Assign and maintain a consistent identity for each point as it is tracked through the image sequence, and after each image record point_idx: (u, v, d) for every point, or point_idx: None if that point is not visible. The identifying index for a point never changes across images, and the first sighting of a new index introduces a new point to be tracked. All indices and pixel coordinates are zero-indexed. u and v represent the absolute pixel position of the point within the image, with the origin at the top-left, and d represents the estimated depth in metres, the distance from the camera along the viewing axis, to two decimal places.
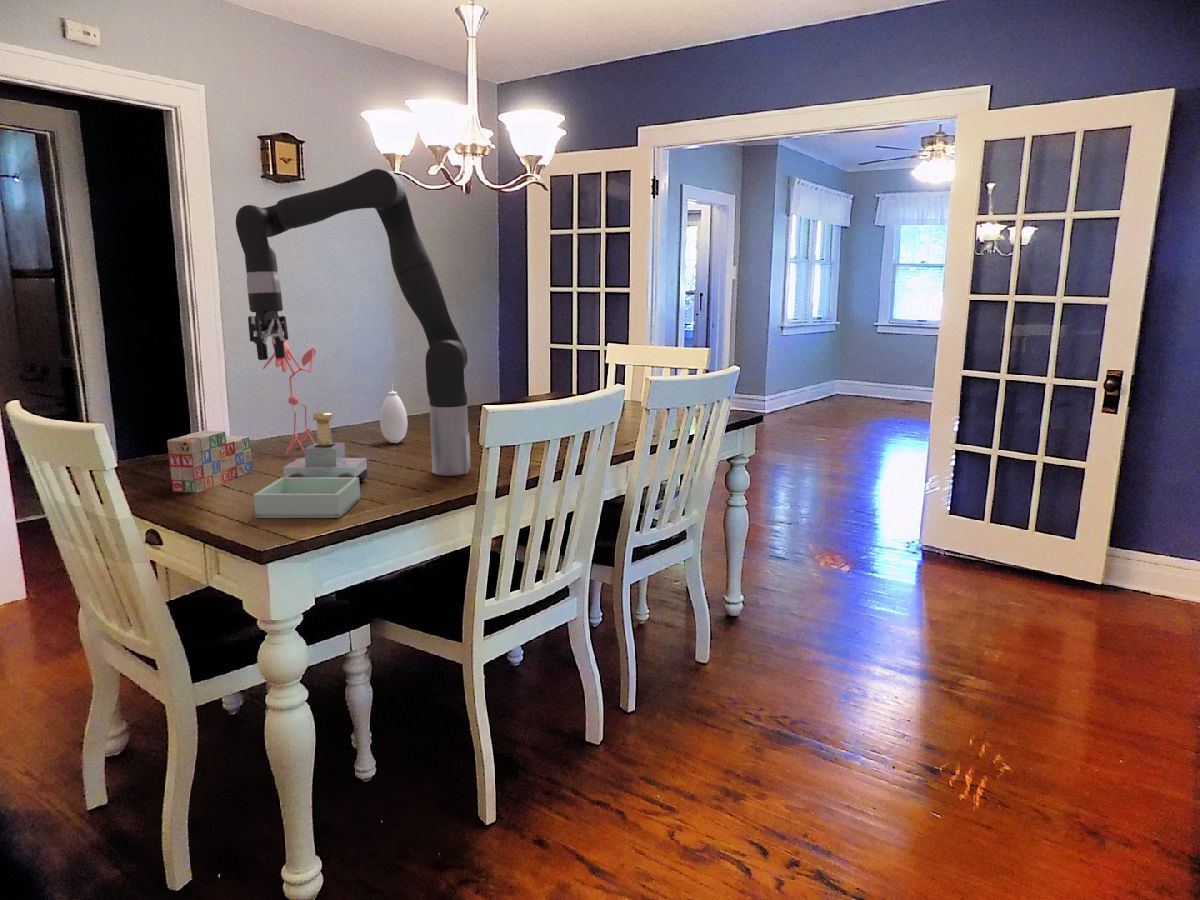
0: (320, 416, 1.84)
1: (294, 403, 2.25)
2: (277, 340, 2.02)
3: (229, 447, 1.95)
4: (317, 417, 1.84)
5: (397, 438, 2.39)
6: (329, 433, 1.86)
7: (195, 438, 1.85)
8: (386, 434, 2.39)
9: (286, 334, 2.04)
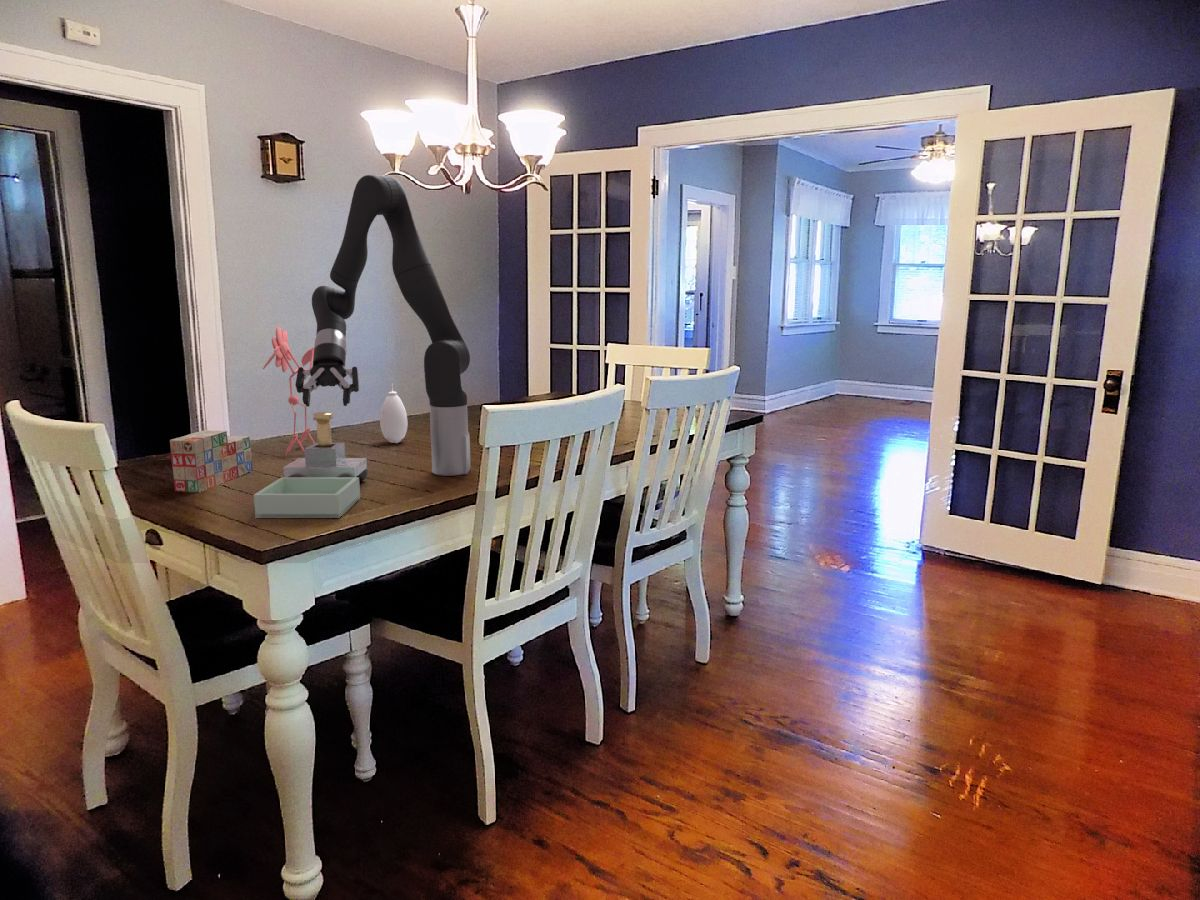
0: (320, 416, 1.84)
1: (294, 403, 2.25)
2: None
3: (230, 447, 1.96)
4: (317, 417, 1.84)
5: (397, 438, 2.39)
6: (329, 433, 1.86)
7: (198, 438, 1.85)
8: (386, 434, 2.39)
9: (354, 381, 1.95)
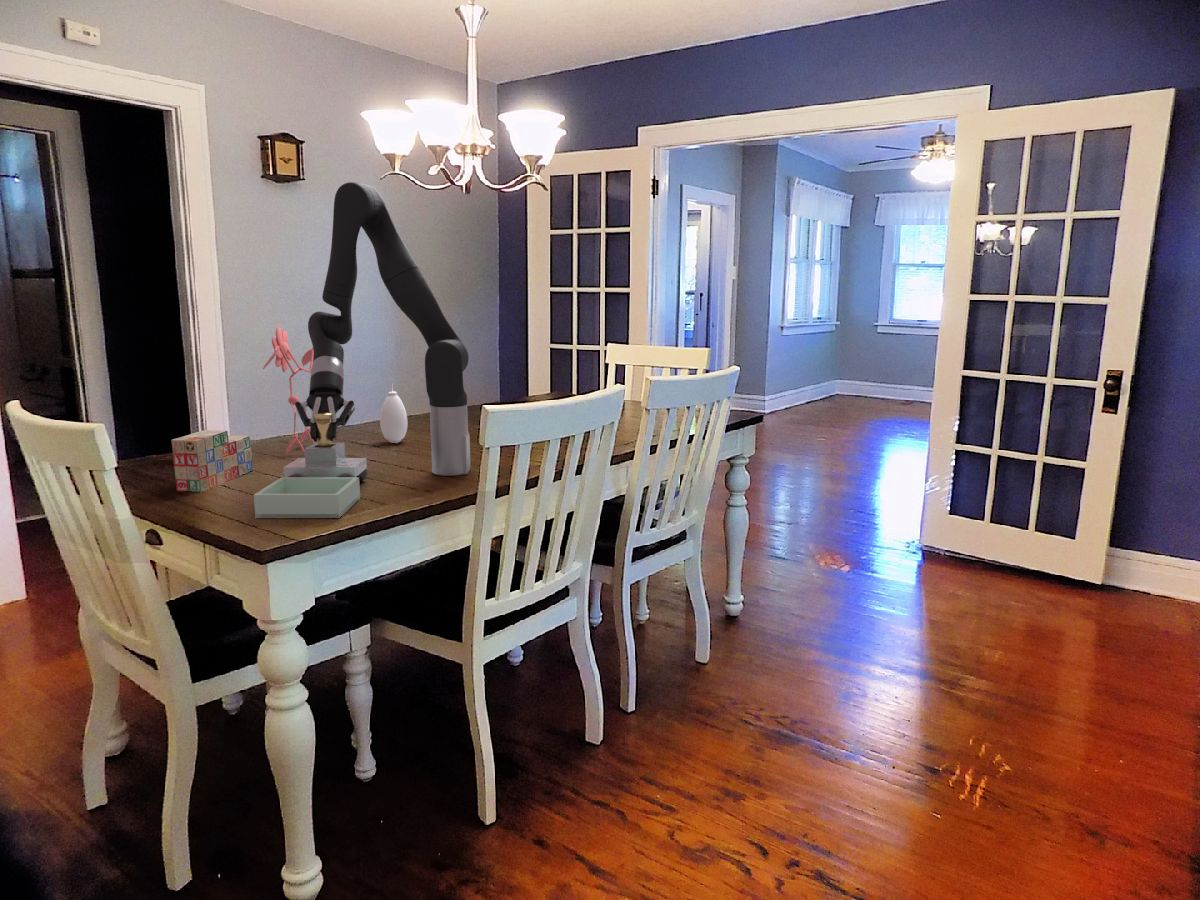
0: (320, 416, 1.84)
1: (294, 403, 2.25)
2: None
3: (231, 446, 1.96)
4: (317, 417, 1.84)
5: (397, 438, 2.39)
6: None
7: (199, 437, 1.86)
8: (386, 434, 2.39)
9: (342, 415, 1.88)
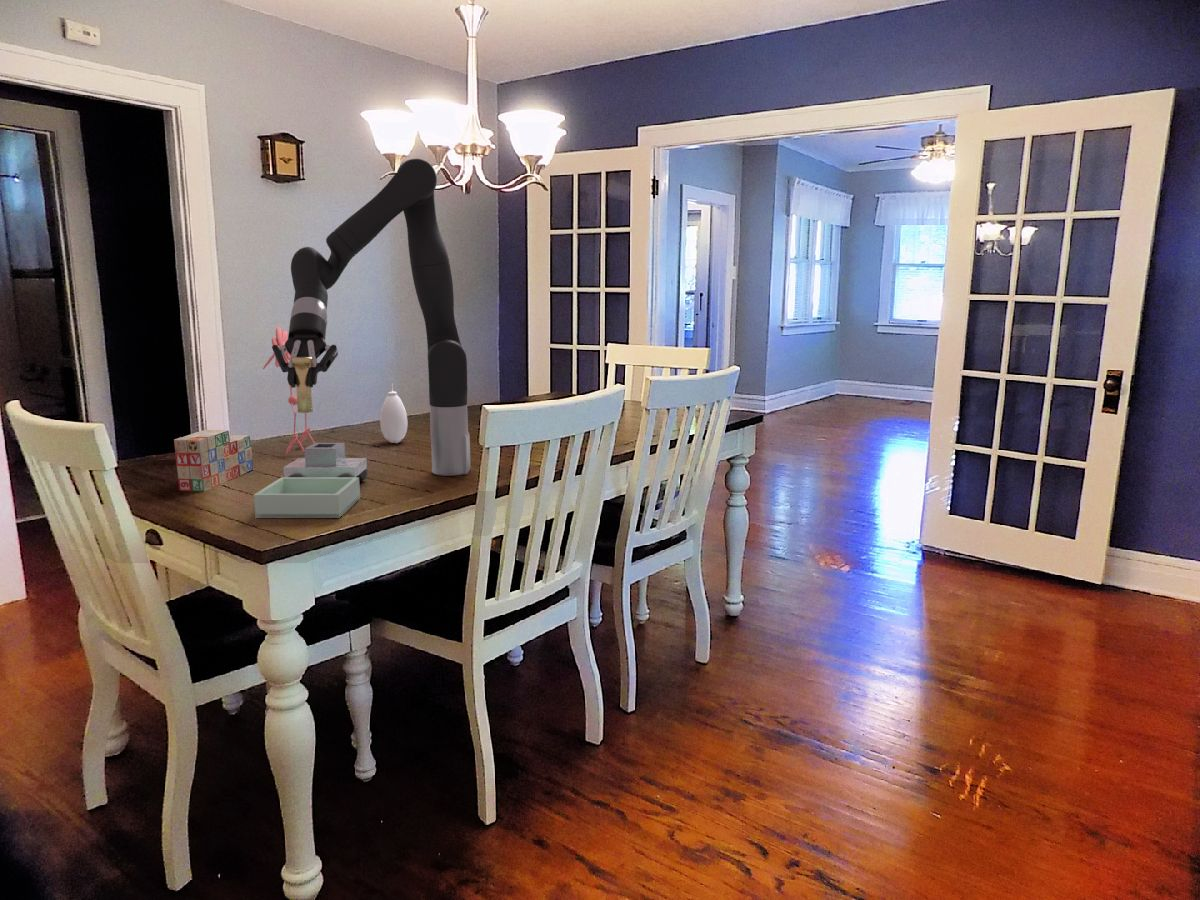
0: (298, 359, 1.68)
1: (294, 403, 2.25)
2: None
3: (232, 446, 1.97)
4: (295, 361, 1.68)
5: (397, 438, 2.39)
6: None
7: (202, 437, 1.86)
8: (386, 434, 2.39)
9: (323, 359, 1.71)
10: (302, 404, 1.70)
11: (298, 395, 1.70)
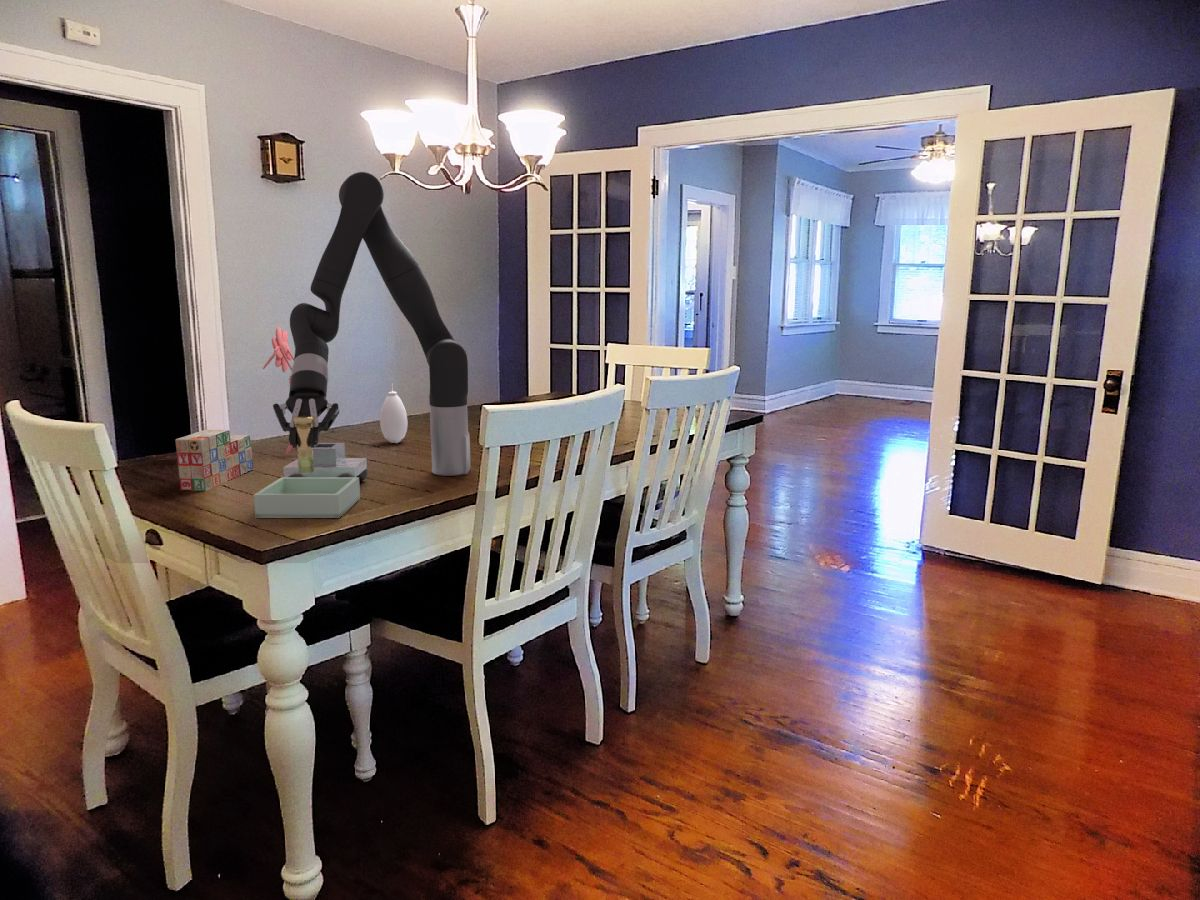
0: (300, 420, 1.66)
1: None
2: None
3: (233, 445, 1.97)
4: (297, 421, 1.66)
5: (397, 438, 2.39)
6: None
7: (203, 437, 1.86)
8: (386, 434, 2.39)
9: (325, 419, 1.70)
10: (303, 464, 1.68)
11: (300, 455, 1.68)
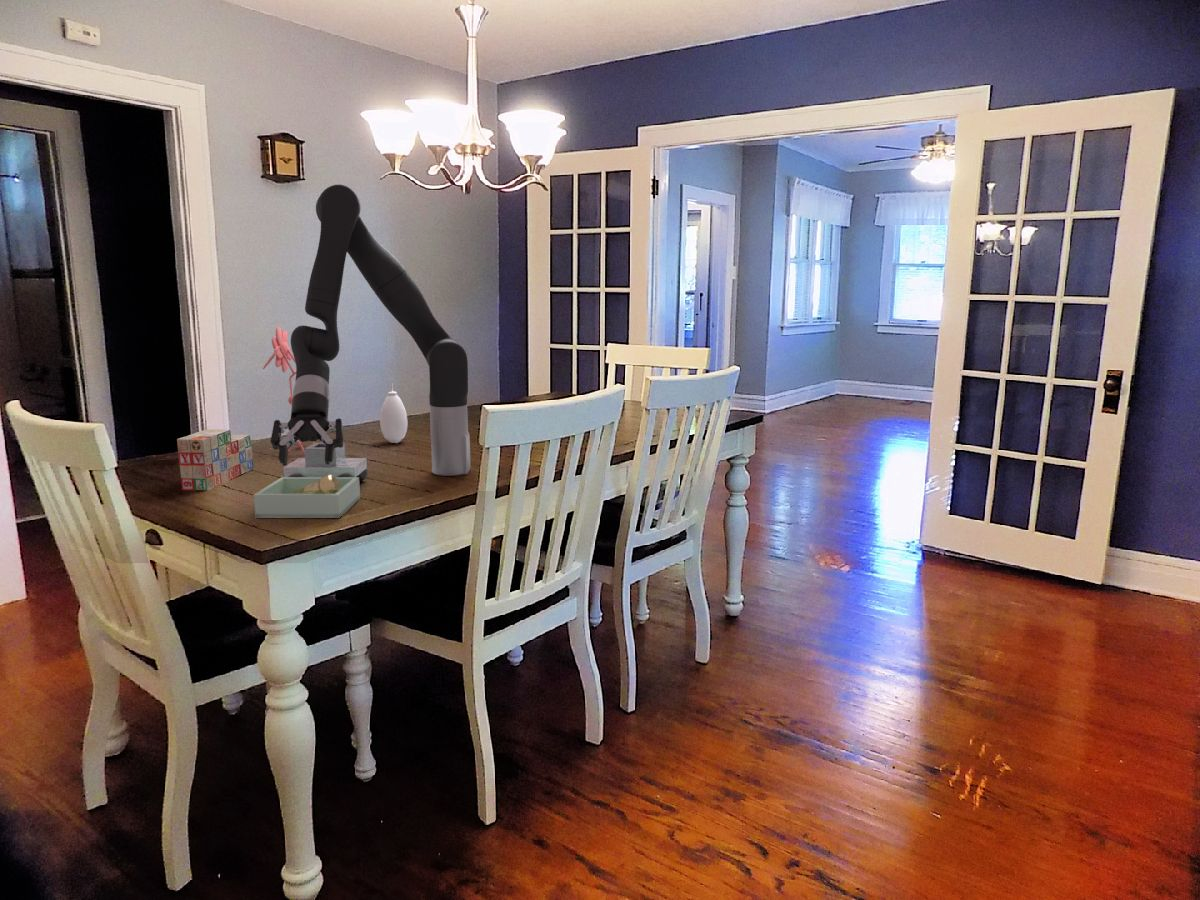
0: (323, 491, 1.64)
1: None
2: None
3: (234, 445, 1.98)
4: (320, 488, 1.64)
5: (397, 438, 2.39)
6: None
7: (205, 436, 1.87)
8: (386, 434, 2.39)
9: (338, 436, 1.72)
10: None
11: None
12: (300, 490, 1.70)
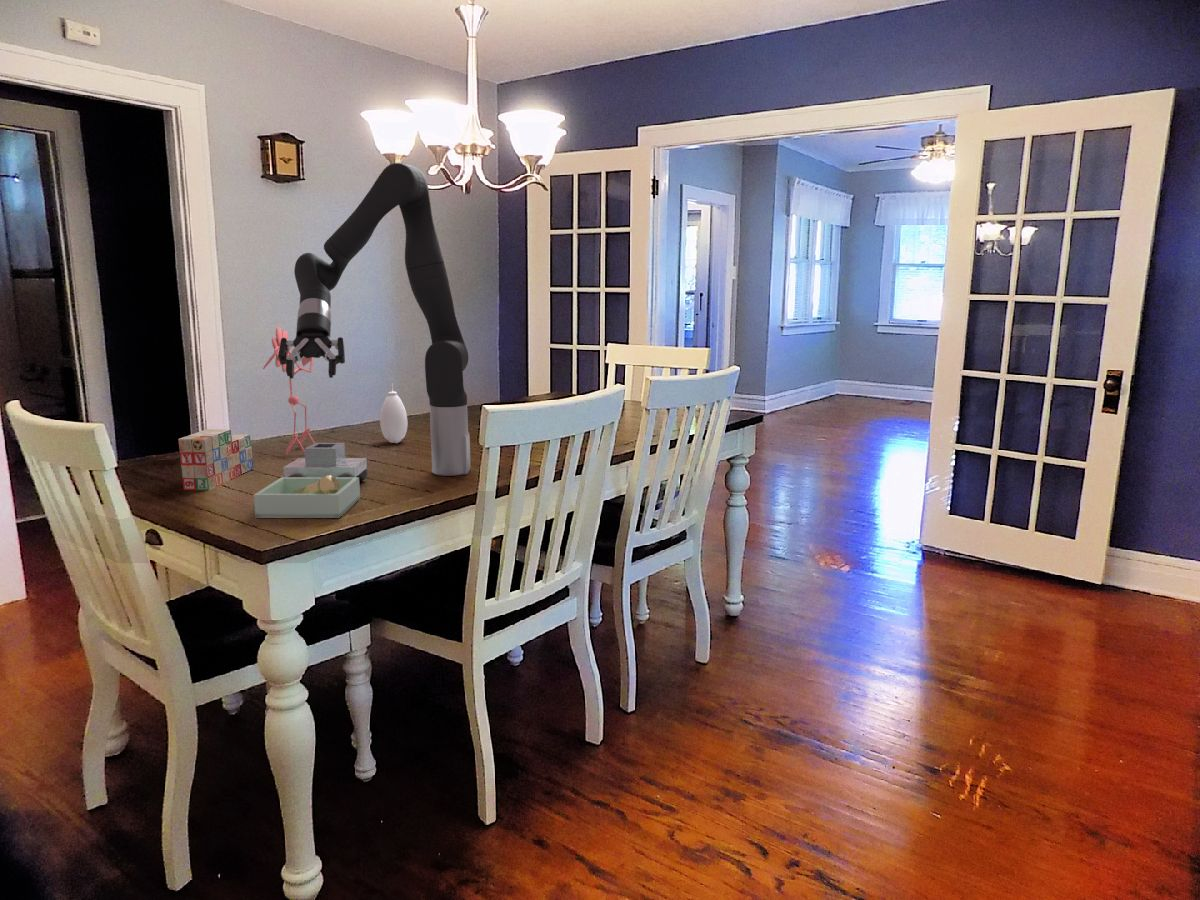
0: (323, 492, 1.64)
1: (294, 403, 2.25)
2: None
3: (234, 445, 1.98)
4: (320, 489, 1.64)
5: (397, 438, 2.39)
6: None
7: (206, 436, 1.87)
8: (386, 434, 2.39)
9: (340, 352, 1.87)
10: None
11: None
12: (300, 490, 1.70)
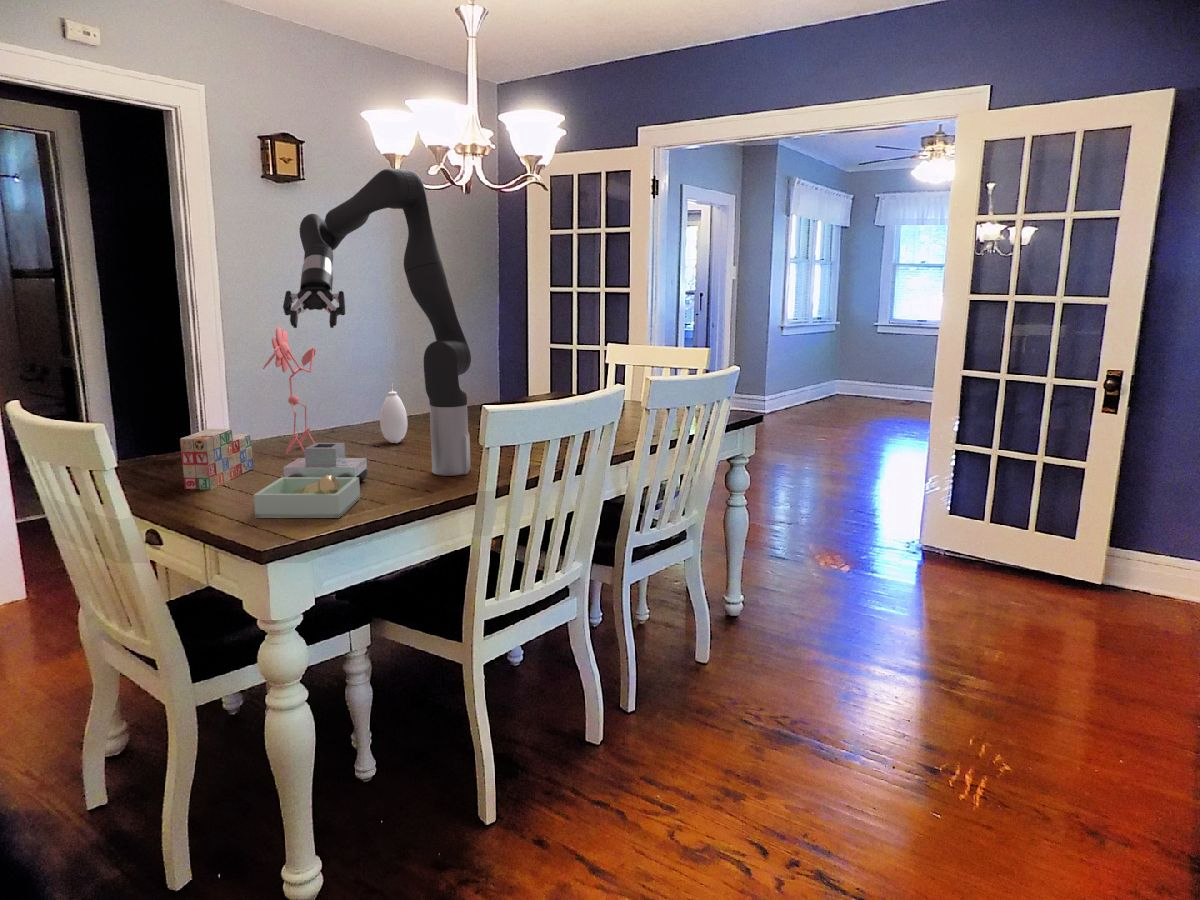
0: (323, 492, 1.64)
1: (294, 403, 2.25)
2: None
3: (235, 445, 1.98)
4: (320, 489, 1.64)
5: (397, 438, 2.39)
6: None
7: (207, 436, 1.87)
8: (386, 434, 2.39)
9: (340, 304, 1.99)
10: None
11: None
12: (300, 490, 1.70)
